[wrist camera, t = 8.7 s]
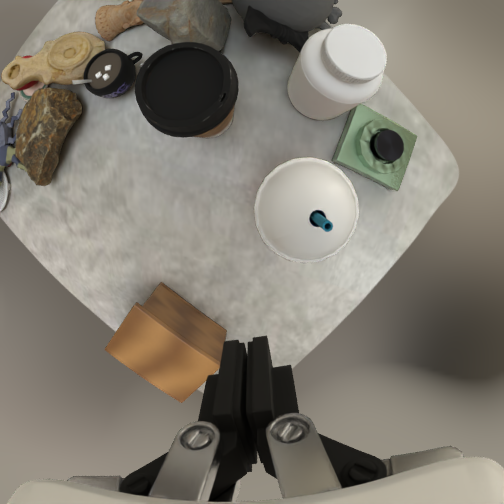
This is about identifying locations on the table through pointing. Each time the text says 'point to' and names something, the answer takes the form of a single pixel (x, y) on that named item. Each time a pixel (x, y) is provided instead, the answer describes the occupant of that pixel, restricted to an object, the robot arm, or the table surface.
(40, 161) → the rock
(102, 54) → the mug
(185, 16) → the stone
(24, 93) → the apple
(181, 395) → the lid
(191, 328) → the box
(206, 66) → the coffee cup
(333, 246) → the smoothie
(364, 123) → the button housing
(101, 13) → the figurine
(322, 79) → the pill bottle
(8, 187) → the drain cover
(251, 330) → the table surface
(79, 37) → the oil lamp
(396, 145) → the button
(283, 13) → the decorative skull
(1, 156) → the toy
